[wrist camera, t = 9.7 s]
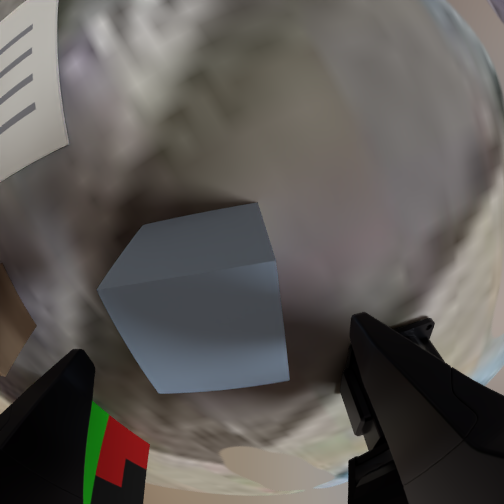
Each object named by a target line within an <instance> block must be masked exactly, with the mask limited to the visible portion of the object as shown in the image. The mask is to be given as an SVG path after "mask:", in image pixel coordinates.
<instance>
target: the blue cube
mask: <svg viewBox="0 0 504 504" xmlns="http://www.w3.org/2000/svg"><path fill="white" fill-rule="evenodd" d="M97 292H98V294H99V296H100V298H101V300H102V302H103V304H104V306H105V308H106V310H107V312H108V313H109V315H110V317H111V319H112V321H113V323H114V324H115V326H116V328H117V330H118V332H119V333H120V335H121V337H122V338H123V340H124V342H125V343H126V345H127V347H128V348H129V350H130V352H131V353H132V355H133V356H134V358H135V360H136V361H137V363H138V364H139V366H140V367H141V369H142V370H143V372H144V373H145V375H146V376H147V378H148V379H149V381H150V382H151V383H152V385H153V386H154V388H155V389H156V390H157V392H158V393H159V394H166V393H191V392H205V391H217V390H227V389H236V388H244V387H252V386H259V385H265V384H272V383H278V382H283V381H289V380H290V378H289V368H288V359H287V350H286V341H285V332H284V323H283V315H282V306H281V298H280V290H279V282H278V274H277V266H276V260H275V256H274V253H273V250H272V247H271V243H270V240H269V237H268V234H267V231H266V227H265V224H264V221H263V218H262V215H261V212H260V208H259V205H258V202H257V203H251V204H245V205H240V206H234V207H229V208H223V209H218V210H212V211H207V212H202V213H197V214H192V215H187V216H182V217H177V218H172V219H168V220H163V221H159V222H154V223H149V224H145V225H142V227H141V228H140V229H139V231H138V232H137V233H136V235H135V236H134V237H133V238H132V240H131V241H130V242H129V244H128V245H127V246H126V248H125V249H124V251H123V252H122V253H121V255H120V256H119V257H118V259H117V260H116V262H115V263H114V265H113V266H112V267H111V269H110V270H109V272H108V273H107V275H106V276H105V278H104V279H103V280H102V282H101V283H100V285H99V286H98V288H97Z"/></svg>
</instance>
